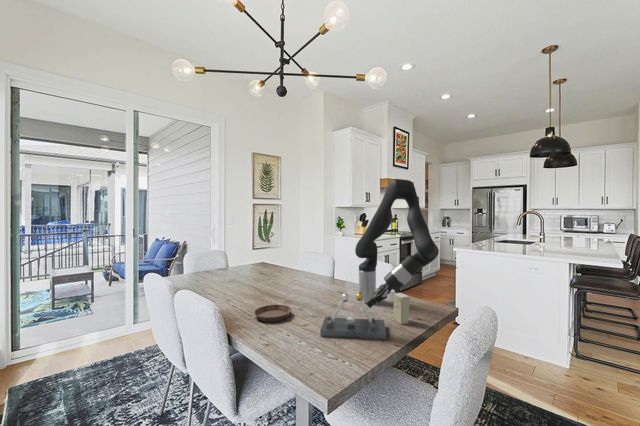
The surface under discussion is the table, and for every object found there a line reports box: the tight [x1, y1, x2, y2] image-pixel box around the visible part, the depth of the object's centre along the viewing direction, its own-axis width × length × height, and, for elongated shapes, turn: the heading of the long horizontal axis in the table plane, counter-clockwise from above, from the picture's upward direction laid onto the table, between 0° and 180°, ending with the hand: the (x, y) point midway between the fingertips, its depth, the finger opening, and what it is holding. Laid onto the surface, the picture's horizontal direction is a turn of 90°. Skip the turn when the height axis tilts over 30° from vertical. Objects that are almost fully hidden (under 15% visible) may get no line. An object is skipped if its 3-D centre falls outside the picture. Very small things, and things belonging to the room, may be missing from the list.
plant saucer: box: [253, 304, 292, 322], centre depth 142 cm, size 18×18×3 cm
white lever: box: [330, 292, 350, 323], centre depth 125 cm, size 4×3×14 cm
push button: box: [346, 316, 356, 325], centre depth 124 cm, size 4×4×2 cm
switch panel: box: [319, 315, 387, 341], centre depth 124 cm, size 14×26×4 cm, turn 81°
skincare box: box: [392, 292, 410, 325], centre depth 134 cm, size 6×4×12 cm
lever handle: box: [355, 291, 373, 323], centre depth 123 cm, size 4×3×14 cm
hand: (368, 305), depth 123 cm, fingers closed
